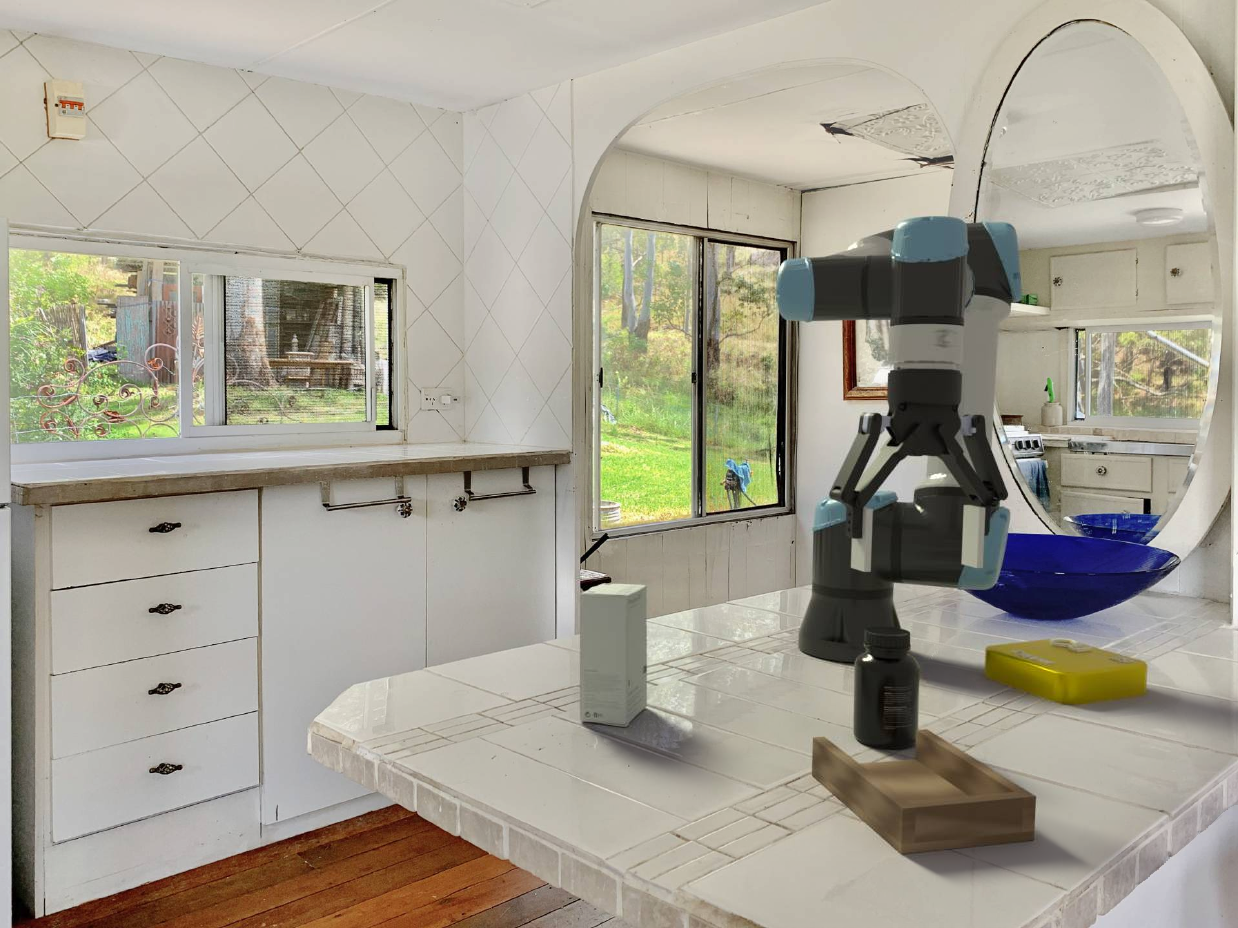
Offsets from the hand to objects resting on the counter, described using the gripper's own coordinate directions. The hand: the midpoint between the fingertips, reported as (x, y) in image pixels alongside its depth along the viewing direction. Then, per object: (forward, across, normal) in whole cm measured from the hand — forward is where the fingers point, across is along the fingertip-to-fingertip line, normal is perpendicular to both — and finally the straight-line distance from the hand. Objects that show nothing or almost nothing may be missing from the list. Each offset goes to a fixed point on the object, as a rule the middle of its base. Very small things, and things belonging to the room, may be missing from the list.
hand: (917, 568), depth 107 cm
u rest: (+19, -9, -15) cm, 26 cm away
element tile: (+19, +32, +15) cm, 41 cm away
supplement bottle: (+19, -2, +2) cm, 19 cm away
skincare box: (+19, -28, +17) cm, 38 cm away
